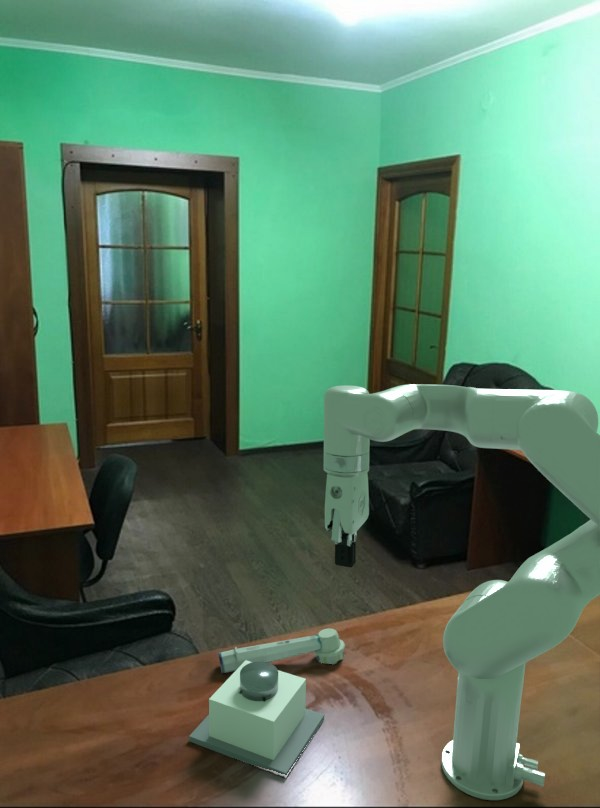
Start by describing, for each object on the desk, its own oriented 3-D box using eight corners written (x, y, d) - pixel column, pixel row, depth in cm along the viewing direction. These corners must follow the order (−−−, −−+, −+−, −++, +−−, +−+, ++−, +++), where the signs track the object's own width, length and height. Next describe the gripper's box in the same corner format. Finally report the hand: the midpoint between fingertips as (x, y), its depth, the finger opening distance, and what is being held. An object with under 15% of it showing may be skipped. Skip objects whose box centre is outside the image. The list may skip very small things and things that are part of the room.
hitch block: (324, 719, 115) (325, 679, 113) (286, 778, 102) (286, 733, 100) (235, 689, 122) (235, 651, 121) (189, 741, 109) (188, 698, 107)
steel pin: (284, 714, 113) (284, 667, 111) (266, 737, 107) (267, 689, 105) (251, 703, 116) (251, 657, 114) (232, 725, 110) (232, 678, 108)
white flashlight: (217, 646, 130) (338, 618, 134) (221, 675, 131) (341, 646, 136) (219, 661, 125) (345, 632, 129) (224, 691, 126) (348, 661, 131)
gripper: (353, 476, 100) (352, 587, 104) (380, 451, 114) (378, 551, 117) (308, 470, 103) (308, 579, 107) (340, 447, 116) (339, 544, 120)
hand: (345, 564), depth 112 cm, fingers closed
